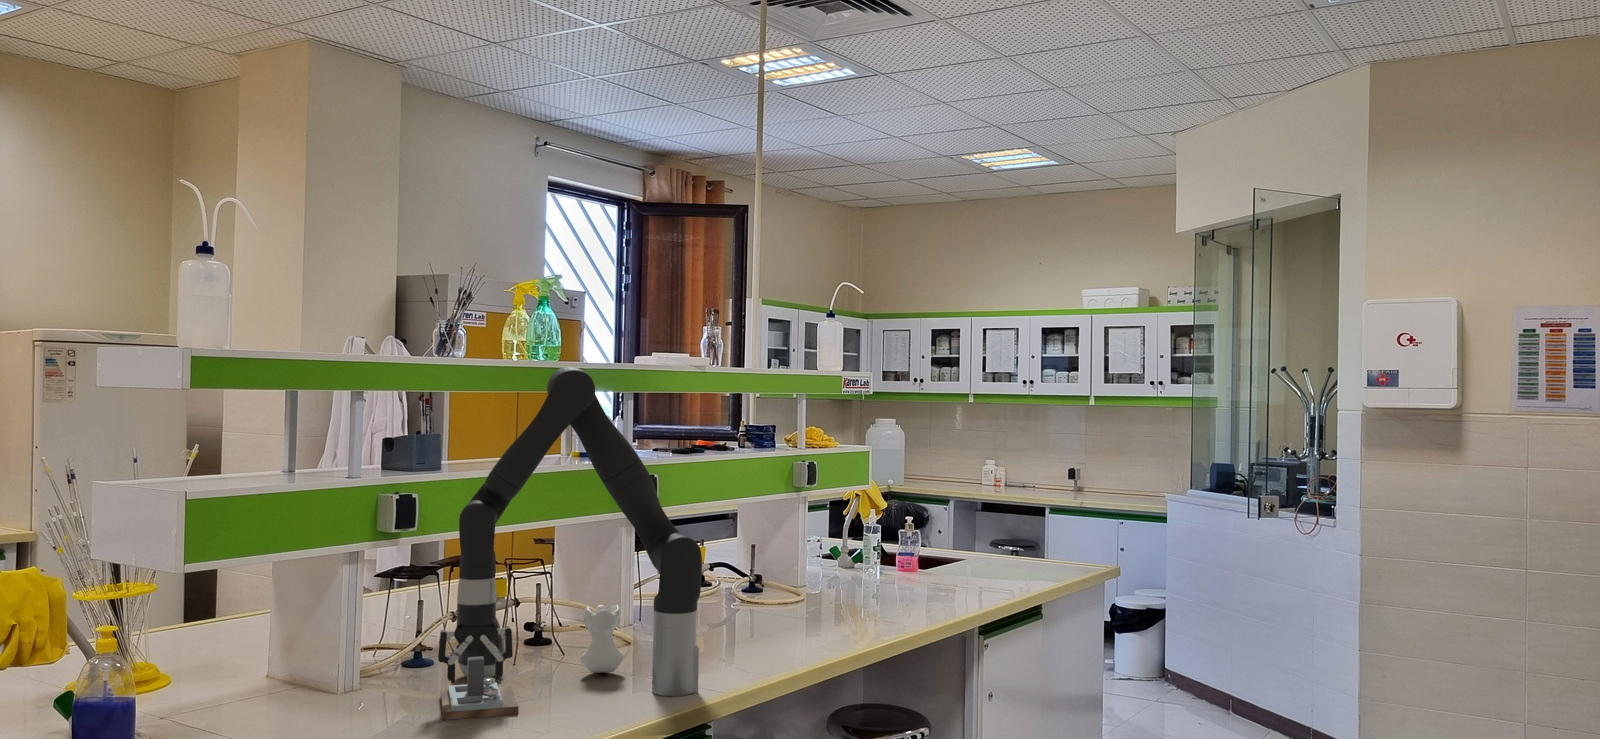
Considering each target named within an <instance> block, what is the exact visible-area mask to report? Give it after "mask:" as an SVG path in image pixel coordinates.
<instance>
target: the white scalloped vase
mask: <svg viewBox="0 0 1600 739" xmlns="http://www.w3.org/2000/svg"><path fill="white" fill-rule="evenodd" d="M621 614H622V610H621V607H620V606H619V605H618V604H616V605H611V606H610V610H608V609H606V606H605V605H602V604H598V605H597V607H596V612H594V609H593V607H591V606H586V607H585V608H584V611H583V614H582V615H583V616H582V617H583V624H584V627H585V629H587V631H588V633H589V635H590V636H591V642H590V643H591V644H590V645H589V648H588V649H587V650H586V651H585V652H584V653H583V654H581V656H580V661H581V662H580V663H581V664H582V665H583V666H584V667H585V668H586V669H587V670H588V671H589V672H590V673H593V674H595V673H596V674H597V673H600V674H601V673H602V674H603V673H613V672H615V671H616V670H617V669H618V667H620V665H621V664H622V663H623V661H624V660H625V654H624V653H623V652H622V651H621V650H620V649H619V648H617V646H616V644H615V640H614V638H613V637H614V632H615V630H616V628H617V627H618V626H619V624H620V622H621V621H620V620H621Z"/></svg>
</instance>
